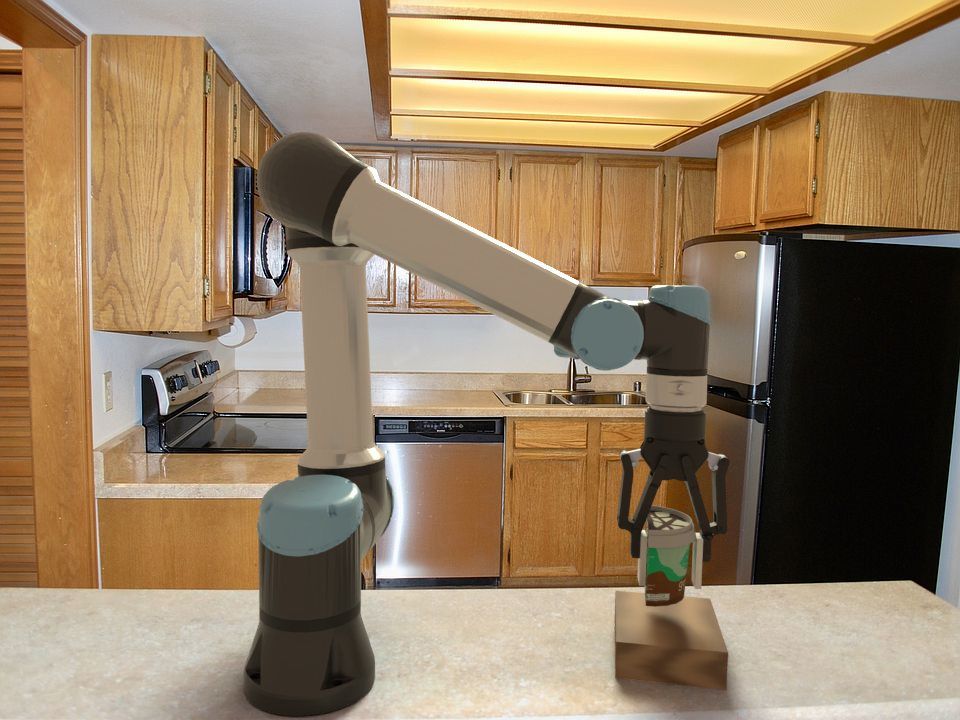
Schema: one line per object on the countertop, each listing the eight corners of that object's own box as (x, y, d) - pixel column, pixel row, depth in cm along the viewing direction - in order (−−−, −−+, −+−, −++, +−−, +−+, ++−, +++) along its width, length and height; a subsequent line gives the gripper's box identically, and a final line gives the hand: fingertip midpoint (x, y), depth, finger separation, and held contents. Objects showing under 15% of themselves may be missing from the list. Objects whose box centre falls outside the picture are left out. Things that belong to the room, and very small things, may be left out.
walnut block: (614, 681, 89) (616, 641, 89) (614, 624, 105) (615, 590, 104) (726, 693, 87) (728, 652, 87) (708, 633, 103) (710, 598, 102)
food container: (698, 615, 89) (701, 535, 88) (646, 610, 90) (648, 531, 89) (689, 578, 101) (692, 506, 100) (643, 574, 102) (645, 503, 101)
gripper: (600, 408, 91) (595, 590, 92) (761, 414, 89) (752, 599, 90) (597, 400, 98) (592, 568, 100) (746, 405, 96) (738, 577, 98)
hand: (668, 583), depth 95 cm, fingers closed on food container, 6 cm apart
